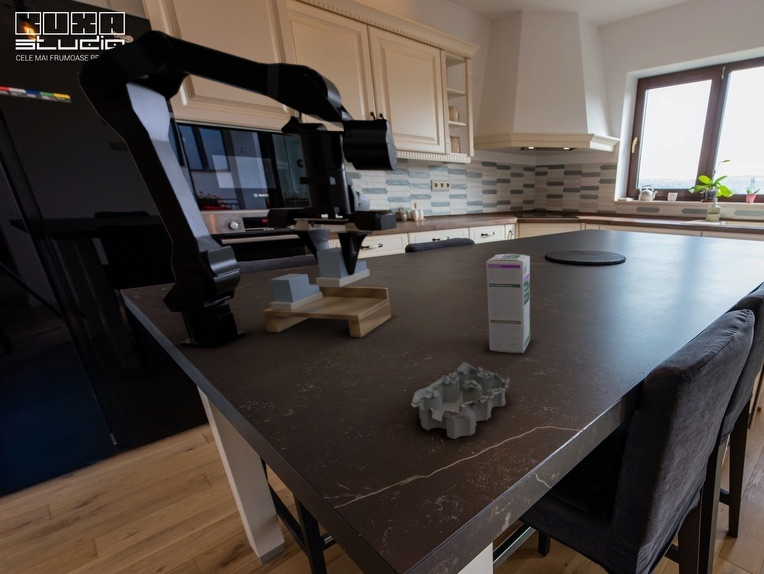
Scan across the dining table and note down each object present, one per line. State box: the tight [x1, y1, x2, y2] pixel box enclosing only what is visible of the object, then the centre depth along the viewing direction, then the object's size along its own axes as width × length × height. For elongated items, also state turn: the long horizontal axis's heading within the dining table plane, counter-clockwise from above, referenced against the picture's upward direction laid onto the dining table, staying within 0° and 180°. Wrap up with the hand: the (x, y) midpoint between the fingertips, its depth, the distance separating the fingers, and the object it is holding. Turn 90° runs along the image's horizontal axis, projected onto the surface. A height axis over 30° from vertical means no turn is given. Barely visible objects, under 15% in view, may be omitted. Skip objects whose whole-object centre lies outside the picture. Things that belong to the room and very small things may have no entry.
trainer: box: [315, 246, 371, 287], centre depth 65 cm, size 9×4×5 cm, turn 170°
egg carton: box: [411, 361, 511, 440], centre depth 45 cm, size 11×8×4 cm
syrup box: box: [485, 253, 531, 354], centre depth 62 cm, size 6×6×14 cm
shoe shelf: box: [262, 285, 392, 338], centre depth 74 cm, size 18×12×6 cm, turn 81°
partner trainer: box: [269, 273, 323, 310], centre depth 73 cm, size 9×4×5 cm, turn 171°
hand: (340, 274), depth 64 cm, fingers closed on trainer, 3 cm apart
